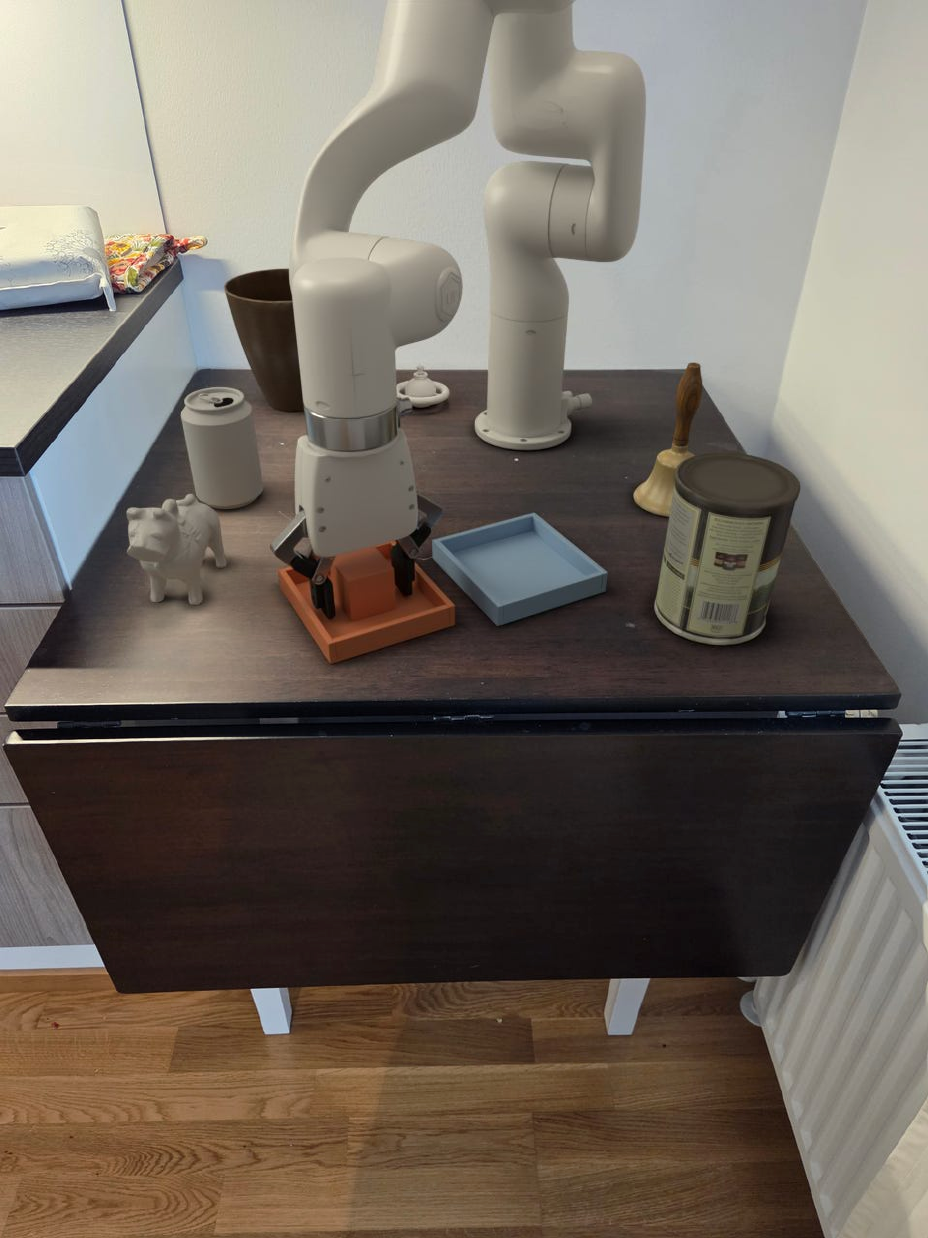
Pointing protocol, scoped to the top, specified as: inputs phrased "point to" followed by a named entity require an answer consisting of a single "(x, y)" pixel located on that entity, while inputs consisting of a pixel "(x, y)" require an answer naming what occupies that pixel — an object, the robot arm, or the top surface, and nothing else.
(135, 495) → the top surface
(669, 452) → the hand bell
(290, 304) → the flower pot
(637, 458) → the top surface
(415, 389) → the ring around a ball
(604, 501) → the top surface
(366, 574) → the terracotta block
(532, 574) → the blue tray
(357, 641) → the terracotta tray
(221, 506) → the can
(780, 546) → the coffee can
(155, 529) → the dog figurine
